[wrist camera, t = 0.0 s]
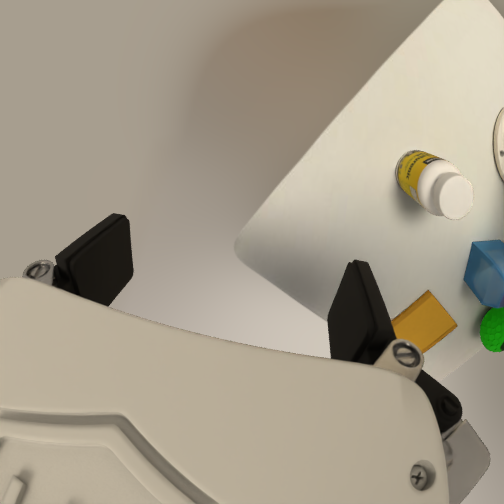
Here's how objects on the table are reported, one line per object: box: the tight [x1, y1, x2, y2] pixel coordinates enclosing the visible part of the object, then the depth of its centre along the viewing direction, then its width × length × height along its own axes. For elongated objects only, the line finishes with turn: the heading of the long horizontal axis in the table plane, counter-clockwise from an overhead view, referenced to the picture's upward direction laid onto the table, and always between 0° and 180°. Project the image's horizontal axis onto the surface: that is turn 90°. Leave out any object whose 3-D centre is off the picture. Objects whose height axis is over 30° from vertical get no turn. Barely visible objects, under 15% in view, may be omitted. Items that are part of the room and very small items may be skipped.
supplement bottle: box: [396, 150, 474, 220], centre depth 21 cm, size 5×5×10 cm
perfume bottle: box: [464, 240, 504, 308], centre depth 23 cm, size 6×6×12 cm
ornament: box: [480, 307, 504, 352], centre depth 28 cm, size 8×8×10 cm
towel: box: [391, 290, 457, 354], centre depth 36 cm, size 12×10×1 cm
